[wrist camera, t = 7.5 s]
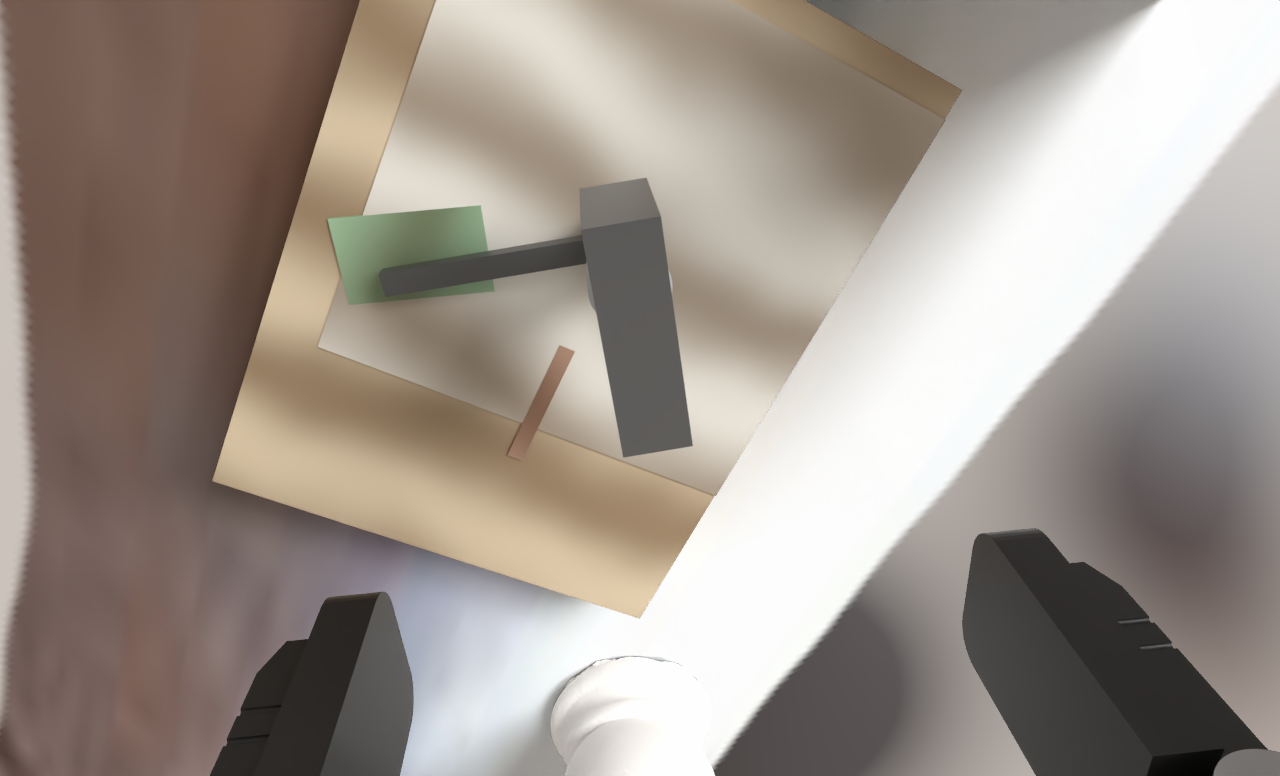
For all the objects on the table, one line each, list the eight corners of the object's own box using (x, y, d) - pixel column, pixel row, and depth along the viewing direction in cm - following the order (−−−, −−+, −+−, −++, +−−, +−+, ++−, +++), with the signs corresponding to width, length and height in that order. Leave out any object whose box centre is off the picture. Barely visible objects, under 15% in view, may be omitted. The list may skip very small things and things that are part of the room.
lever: (643, 142, 26) (674, 214, 18) (667, 314, 29) (704, 444, 21) (359, 189, 26) (264, 282, 18) (411, 357, 29) (348, 503, 21)
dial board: (446, -188, 25) (425, -217, 22) (915, 77, 30) (963, 90, 26) (249, 429, 34) (211, 482, 31) (633, 560, 39) (639, 620, 35)
